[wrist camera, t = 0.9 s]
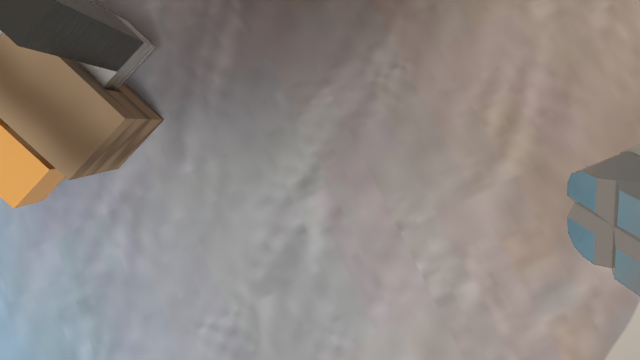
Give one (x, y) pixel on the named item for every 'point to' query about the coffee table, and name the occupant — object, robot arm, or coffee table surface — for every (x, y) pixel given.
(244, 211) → the coffee table surface
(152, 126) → the bearing block
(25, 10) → the grey l-shaped piece
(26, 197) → the block
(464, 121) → the coffee table surface
